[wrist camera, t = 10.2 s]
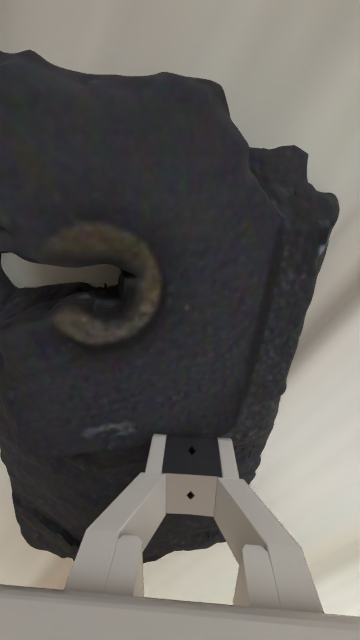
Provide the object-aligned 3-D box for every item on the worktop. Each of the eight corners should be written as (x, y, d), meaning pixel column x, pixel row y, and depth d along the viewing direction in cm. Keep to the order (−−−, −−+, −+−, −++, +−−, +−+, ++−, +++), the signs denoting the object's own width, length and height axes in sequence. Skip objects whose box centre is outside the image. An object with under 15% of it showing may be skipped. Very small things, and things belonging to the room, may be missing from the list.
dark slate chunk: (14, 502, 16) (-55, 604, 12) (-56, 98, 9) (-304, -41, 4) (240, 533, 16) (258, 648, 11) (355, 142, 9) (527, 40, 4)
